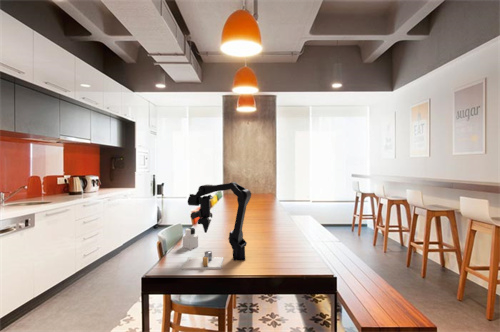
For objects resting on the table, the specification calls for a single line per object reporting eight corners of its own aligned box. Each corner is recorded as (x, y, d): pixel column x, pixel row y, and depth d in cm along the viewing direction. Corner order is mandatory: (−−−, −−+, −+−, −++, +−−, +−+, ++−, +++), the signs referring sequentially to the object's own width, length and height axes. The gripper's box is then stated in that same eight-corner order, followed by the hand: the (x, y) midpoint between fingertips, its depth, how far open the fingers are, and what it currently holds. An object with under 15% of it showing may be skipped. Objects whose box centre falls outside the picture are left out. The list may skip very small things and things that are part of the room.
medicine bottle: (191, 244, 187) (190, 226, 186) (198, 246, 182) (198, 228, 182) (182, 247, 181) (182, 228, 181) (189, 249, 177) (189, 230, 176)
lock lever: (205, 258, 158) (205, 251, 158) (212, 258, 158) (212, 251, 158) (201, 265, 148) (201, 258, 147) (209, 265, 147) (208, 258, 147)
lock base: (223, 258, 160) (223, 256, 160) (221, 268, 146) (221, 266, 146) (188, 259, 160) (188, 257, 160) (182, 269, 146) (182, 267, 146)
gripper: (194, 203, 176) (194, 228, 177) (188, 209, 157) (188, 237, 158) (212, 203, 176) (212, 228, 177) (208, 209, 157) (208, 237, 158)
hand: (205, 232), depth 167 cm, fingers closed
